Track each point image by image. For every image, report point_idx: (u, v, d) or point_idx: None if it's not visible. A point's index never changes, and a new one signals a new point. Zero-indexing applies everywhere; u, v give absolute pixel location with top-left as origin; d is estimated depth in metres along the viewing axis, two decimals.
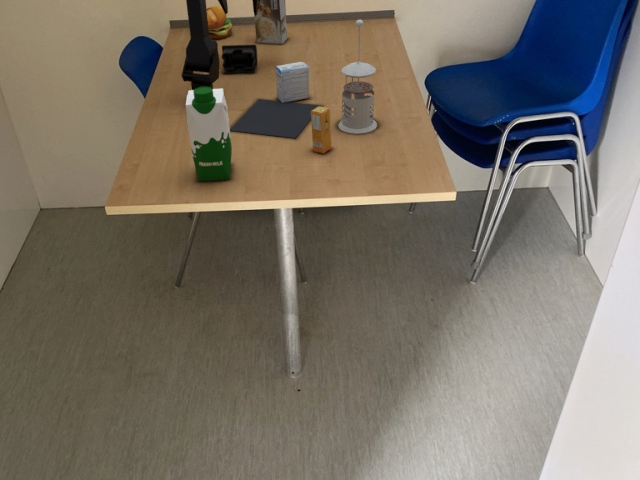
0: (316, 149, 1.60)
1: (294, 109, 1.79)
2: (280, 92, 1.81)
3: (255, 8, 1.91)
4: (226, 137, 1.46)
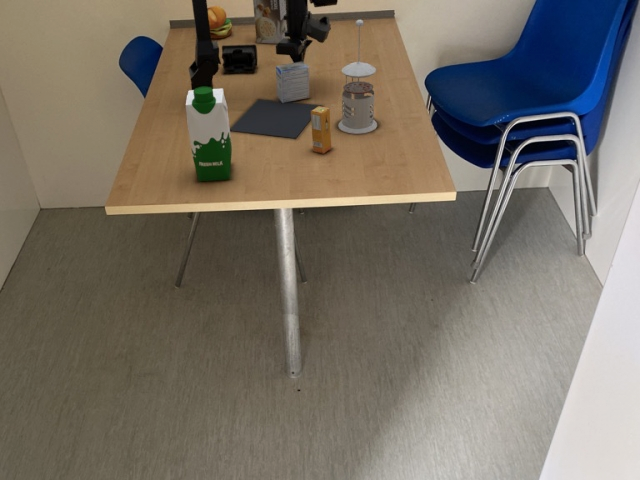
0: (316, 149, 1.60)
1: (294, 109, 1.79)
2: (280, 93, 1.81)
3: (294, 62, 1.83)
4: (226, 137, 1.46)
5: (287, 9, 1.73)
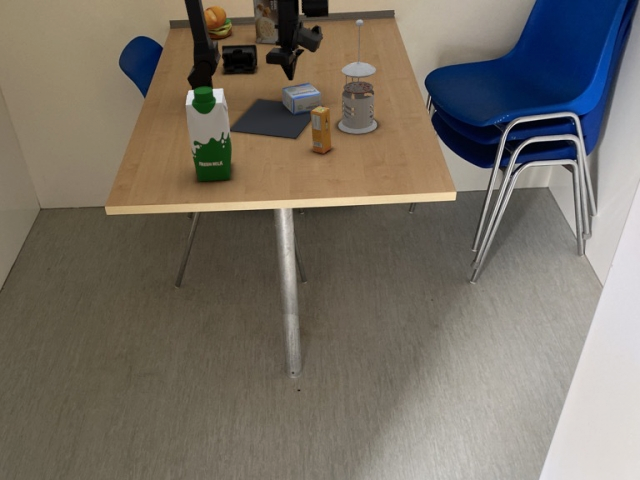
0: (316, 149, 1.60)
1: None
2: (285, 102, 1.79)
3: (285, 72, 1.79)
4: (226, 137, 1.46)
5: (277, 17, 1.69)
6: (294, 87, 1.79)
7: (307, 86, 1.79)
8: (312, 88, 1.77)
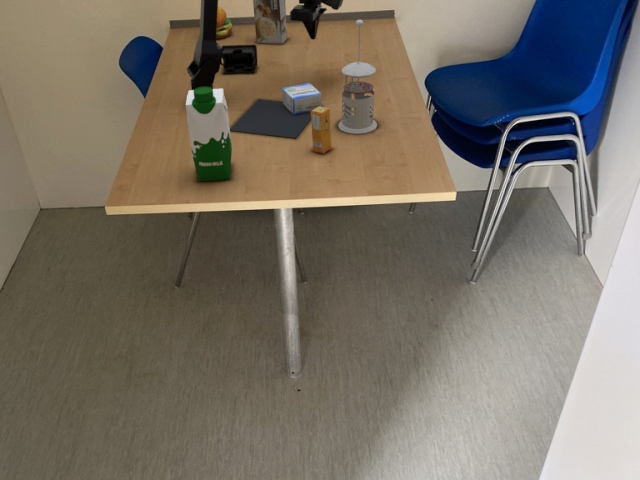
0: (316, 149, 1.60)
1: None
2: (285, 102, 1.79)
3: (308, 31, 1.83)
4: (226, 137, 1.46)
5: None
6: (294, 87, 1.79)
7: (307, 86, 1.79)
8: (312, 88, 1.77)
